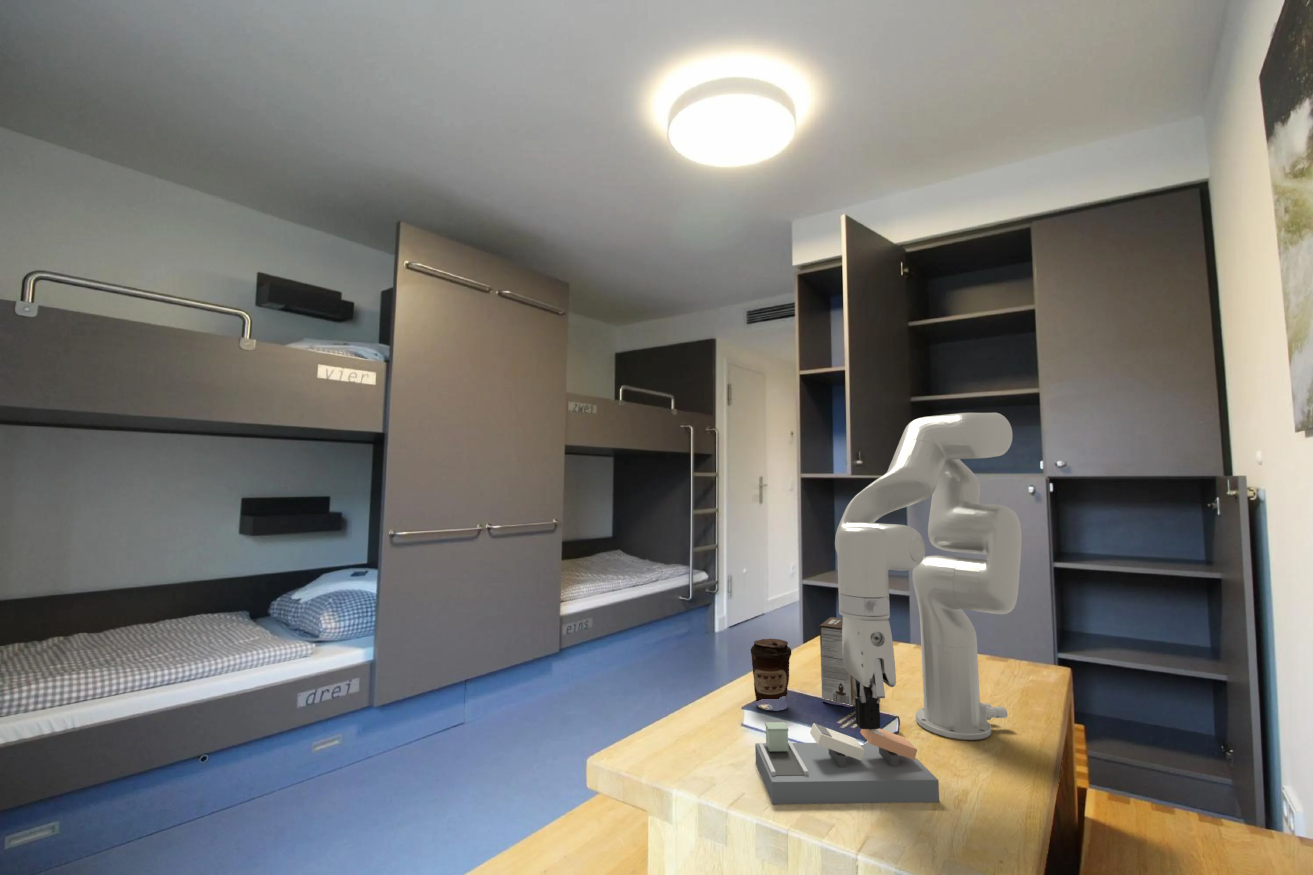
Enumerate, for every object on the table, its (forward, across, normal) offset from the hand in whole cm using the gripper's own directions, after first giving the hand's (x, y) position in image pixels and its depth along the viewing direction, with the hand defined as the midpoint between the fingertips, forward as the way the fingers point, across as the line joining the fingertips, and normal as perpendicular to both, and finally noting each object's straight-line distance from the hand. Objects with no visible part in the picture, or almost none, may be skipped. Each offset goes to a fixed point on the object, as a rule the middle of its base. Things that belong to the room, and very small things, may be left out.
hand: (867, 726), depth 85 cm
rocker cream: (+2, 0, +5) cm, 5 cm away
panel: (+8, 0, +4) cm, 9 cm away
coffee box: (+8, +33, -8) cm, 35 cm away
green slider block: (+5, +4, +13) cm, 15 cm away
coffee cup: (+8, +29, +8) cm, 31 cm away
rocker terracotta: (+2, 0, -3) cm, 4 cm away
